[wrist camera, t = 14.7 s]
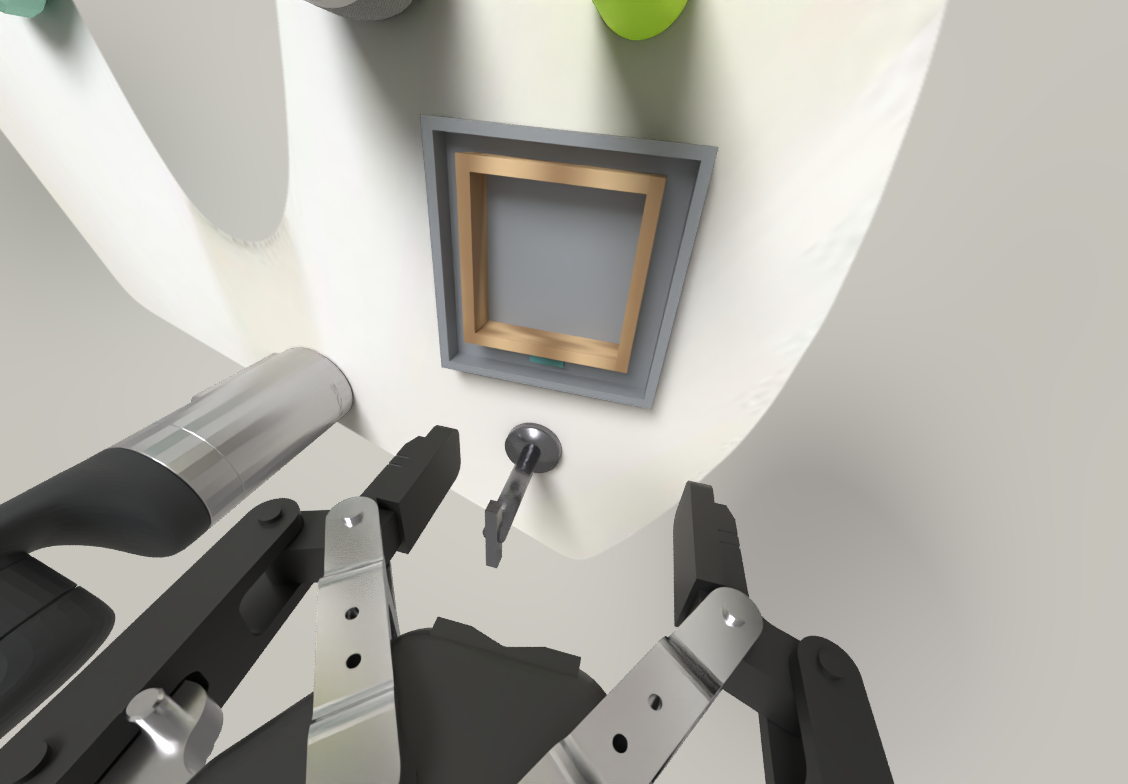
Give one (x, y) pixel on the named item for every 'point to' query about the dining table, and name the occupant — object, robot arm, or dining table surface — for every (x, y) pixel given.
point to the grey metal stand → (518, 481)
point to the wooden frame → (475, 267)
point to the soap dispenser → (639, 16)
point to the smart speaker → (363, 8)
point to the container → (22, 7)
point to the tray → (564, 250)
